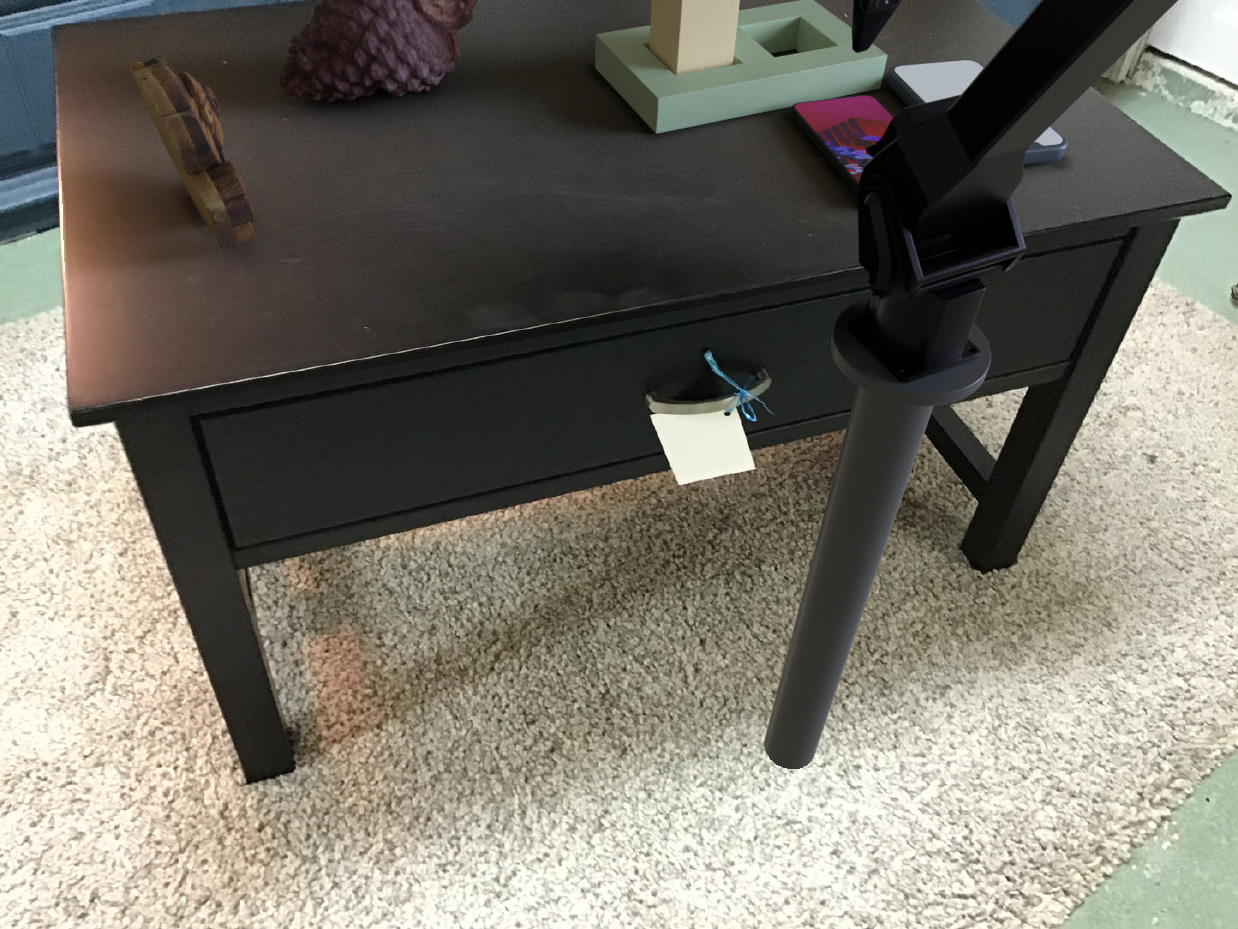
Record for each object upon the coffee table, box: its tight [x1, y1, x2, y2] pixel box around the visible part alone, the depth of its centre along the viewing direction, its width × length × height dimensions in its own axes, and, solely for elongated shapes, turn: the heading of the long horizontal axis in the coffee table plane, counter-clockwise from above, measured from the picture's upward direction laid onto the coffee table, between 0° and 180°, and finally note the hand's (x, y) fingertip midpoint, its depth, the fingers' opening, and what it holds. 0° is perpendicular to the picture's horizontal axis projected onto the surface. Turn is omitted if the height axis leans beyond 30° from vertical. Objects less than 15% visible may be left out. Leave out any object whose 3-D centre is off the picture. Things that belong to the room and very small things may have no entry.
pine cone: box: [278, 0, 478, 103], centre depth 84 cm, size 18×10×10 cm
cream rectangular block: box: [649, 0, 741, 76], centre depth 84 cm, size 5×5×13 cm
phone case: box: [886, 58, 1068, 166], centre depth 85 cm, size 9×2×16 cm
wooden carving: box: [129, 56, 256, 251], centre depth 70 cm, size 16×5×10 cm, turn 36°
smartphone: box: [790, 94, 895, 195], centre depth 81 cm, size 8×1×15 cm
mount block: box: [594, 0, 888, 135], centre depth 89 cm, size 12×21×3 cm, turn 114°
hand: (815, 17), depth 68 cm, fingers open, 9 cm apart
